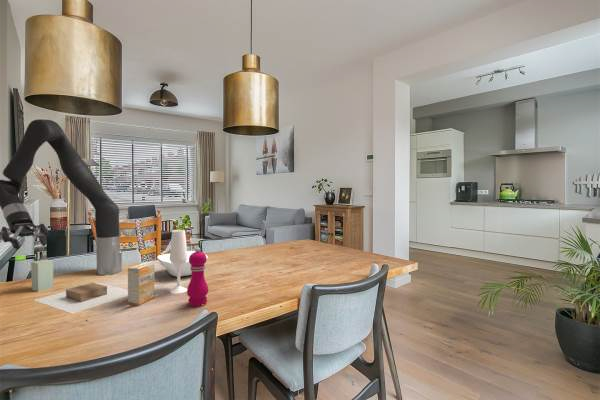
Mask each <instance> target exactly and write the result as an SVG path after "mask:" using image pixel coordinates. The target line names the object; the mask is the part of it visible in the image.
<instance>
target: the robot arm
mask: <svg viewBox="0 0 600 400" xmlns="http://www.w3.org/2000/svg"><path fill="white" fill-rule="evenodd" d="M46 142H47V143H48V145H50V147H51V148H52V149H53V151H54V152H55V153H56V155H57V158H58V160H59V165H60V167H61V170H62V172H63V174H64V175H65V176H66V178H67V179H68V181H69V182H70V183H71V184H72V185H73V186H74V187H75V188H76V189H77V190H78V191H79V192H80V193H81V194H82V195H84V196H85V198H87V200H88V201H89V203H90V204H91V205H92V207H93V209H94V210H95V212H94V219H95V220H94V221H95V241H96V242H95V244H96V247H95V248H96V274H97V275H99V276H109V275H114V274H118V273H119V272H122V270H123V269H122V268H123V266H122V264H123V262H122V261H123V258H122V256H123V255H122V251H121V249H120V243H121V242H120V208H119V206H118V205H117V204H116V203H115V202H114V201H113V200H112V199H111V197H110V196H108V194H107V193H106V191H104V189H103V188H102V186H101V184H100V182H99V181H98V179H97V177H96V176H95V174H94V173H93V171H92V170H91V169H90V167H89V166H88V165H87V163H86V162H85V161H84V160H83V158H82V157H81V156H80V154H79V153H78V152H77V150H76V149H75V148H74V146H73V145H72V144H71V142H70V140H69V139H68V137H67V135H66V134H65V132H64V130H63V129H62V127H61V126H60V124H58V123H57V122H56V121H54V120H51V119H39V118H38V119H35V120H32V121H30V122H29V124H28V125H27V126H26V130H25V133H24V134H23V137H22V139H21V141H20V143H19V145H18V148H16V149H17V150H16V152H14V154H13V156H12V158H11V159H10V160H9V162H8V164H7V165H6V166H5V167H4V169H3V170H2V174H3V176H4V177H6V178H7V179H9V180H5V179H0V209H1V210H2V211H1V212H2V214H3V217H4V219H5V221H6V224H7V225H8V227H6V226H2V228H1V229H0V235H1V238H2V241H3V243H11V245H12V247H13V249H15V250H20V249H21V244H20V242H19V240H18V237H20V238H24V237H33V238H37V239H39V242H40V244H41V247H45V246H46V244H47V243H48V241H47V238H48V235H49V234H50V233H49V231H48V229H47V227H46V226H45V224H44V223H40V224H39V225H38V224H37V225H35V223H34V222H33V218H32V217H31V215H30V213H29V212H28V209H27V207H25V205H24V202H23V201H22V199H21V197H20V196H18V195H19V193H20V192H21V188H22V184H23V181H24V178H25V177H26V176H27V174H28V172H29V171H30V169H31V168H32V166H33V164H34V160H35V156H36V154H37V151H38V150H39V149H40V148H41V146H42V145H44V144H45V143H46ZM9 233H12V234H13V235H12V237H11V236H10V234H9Z"/></svg>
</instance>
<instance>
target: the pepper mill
mask: <svg viewBox="0 0 600 400" xmlns="http://www.w3.org/2000/svg"><path fill="white" fill-rule="evenodd" d="M194 251H196V252H194V253H192V254H191V255H190V257H189V263H190V264H191V266H190V267H191V269H190V270H191V271H192V274H191V278H190V281H189V283H188V286H187V288H186V289H187V291H186V295H187V296H188V306H190V305H191V306H190V307H200V306H199V305H202V304H205V303H206V302H208V297H207V295H208V293H209V286H208V284H207V281H206V279H205V273H204V272H205V269H206V265H205V264H206V263H207V261H208V259H207V257H206V255H207V254H206V253H205V252H203V251H201V248H200V247H196V248H195V249H194ZM205 254H206V255H205ZM206 304H207V303H206ZM206 304H205V305H206ZM202 306H203V305H202Z"/></svg>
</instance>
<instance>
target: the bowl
mask: <svg viewBox="0 0 600 400" xmlns="http://www.w3.org/2000/svg"><path fill="white" fill-rule="evenodd" d="M194 252H196V251H195V250H189V251H188V250H187V256H188V258H187V260H186V262H185V263H184V264H183V265H182V266H180V277H185V276H192V271H191V270H190V269H191V267H190V266H191V264H190V263H189V257H190V255H191V254H192V253H194ZM204 254H205V255H206V257H207V260H208V259H209V257H208V255H207V254H206V253H204ZM169 258H170V252H169V253H164V254H159V255H157V261H158V262H159V264H160V265H161V267H163V268H166V270H167V272H168V273H169V275H171V276H172V277H176V278H177V266H175V265H174V264H172V263H171V261H170V259H169Z"/></svg>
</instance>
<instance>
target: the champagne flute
mask: <svg viewBox="0 0 600 400" xmlns="http://www.w3.org/2000/svg"><path fill="white" fill-rule="evenodd" d="M170 239H171V240H170V249H169V253H170V258H169V259H170V261H171V263H172V264H174V265H175V266H177V277H176V286H175V287H173V288H172V289H170V290H169V293H170V294H172V295H175V294H176V295H177V294H184V293H187V289H188V288H186V287H184V286H181V276H180V266H182V265H183V264H184V263H185V262H186V260H187V258H188V256H187V251H188V248H187V237H186V230H185V229H173V230H172V231H171V238H170Z"/></svg>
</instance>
